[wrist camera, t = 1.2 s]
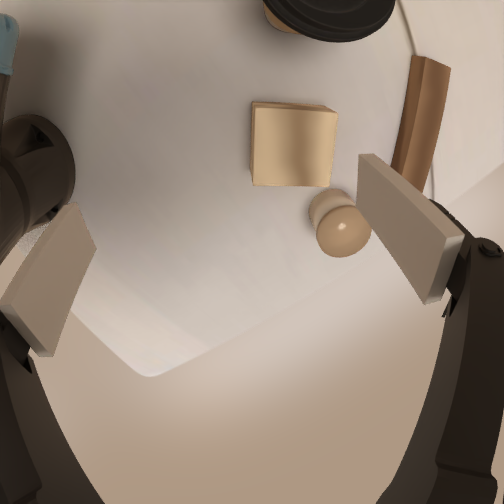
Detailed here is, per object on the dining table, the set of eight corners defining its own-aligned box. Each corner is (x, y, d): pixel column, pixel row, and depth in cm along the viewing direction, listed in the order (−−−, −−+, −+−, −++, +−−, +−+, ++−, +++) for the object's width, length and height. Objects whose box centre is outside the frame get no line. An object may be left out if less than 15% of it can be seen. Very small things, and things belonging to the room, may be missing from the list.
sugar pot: (302, 230, 40) (312, 257, 35) (310, 184, 36) (324, 206, 31) (348, 232, 40) (363, 257, 36) (359, 188, 36) (378, 210, 32)
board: (377, 213, 39) (386, 224, 36) (411, 55, 26) (425, 56, 23) (401, 215, 39) (410, 226, 37) (436, 65, 26) (451, 67, 24)
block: (250, 168, 34) (253, 185, 30) (251, 101, 30) (255, 107, 25) (316, 170, 35) (328, 186, 31) (323, 105, 30) (338, 113, 26)
